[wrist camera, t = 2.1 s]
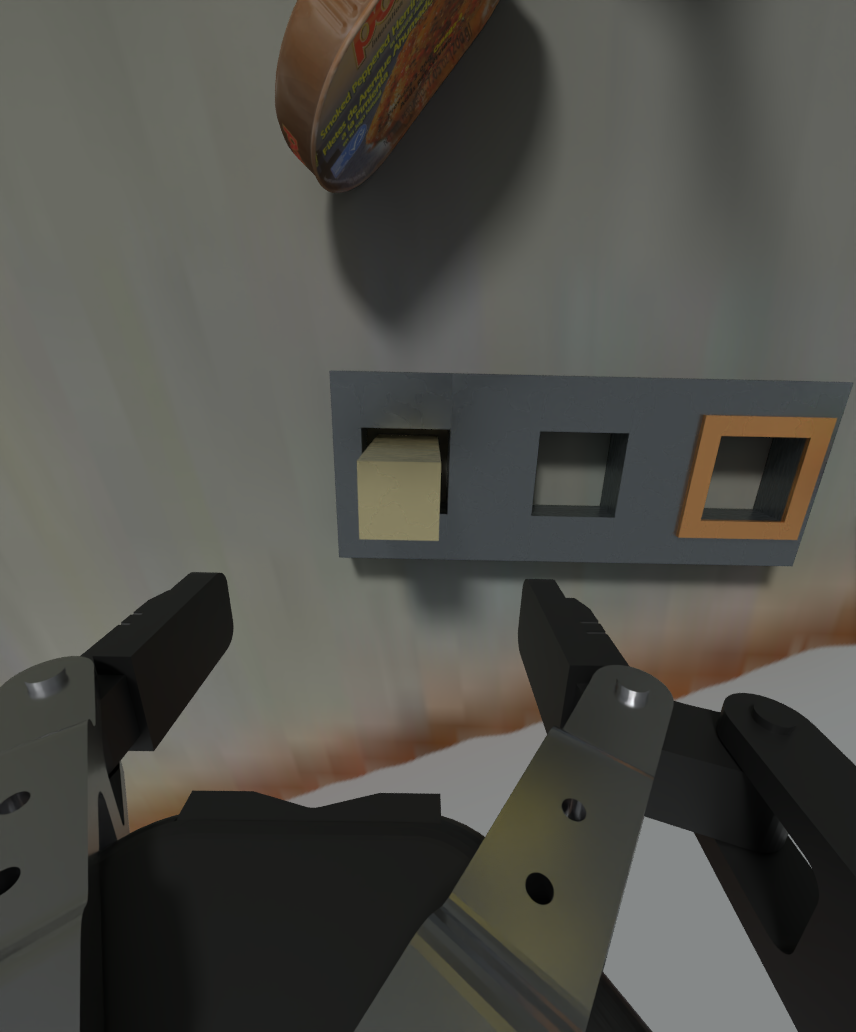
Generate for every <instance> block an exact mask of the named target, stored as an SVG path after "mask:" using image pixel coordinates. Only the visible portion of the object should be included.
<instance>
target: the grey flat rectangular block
mask: <svg viewBox="0 0 856 1032" xmlns="http://www.w3.org/2000/svg"><path fill="white" fill-rule="evenodd" d="M852 385H853V383H852V382H812V381H768V380H723V379H679V378H634V377H590V376H546V375H501V374H457V373H412V372H368V371H330V389H331V408H332V427H333V447H334V466H335V486H336V505H337V524H338V544H339V557H345V558H396V559H447V560H499V561H550V562H601V563H653V564H704V565H755V566H793V563H794V560H795V557H796V554H797V551H798V548H799V545H800V542H801V539H802V536H803V533H804V530H805V527H806V524H807V521H808V518H809V515H810V512H811V509H812V506H813V503H814V500H815V497H816V494H817V491H818V488H819V485H820V482H821V479H822V476H823V473H824V470H825V467H826V464H827V461H828V458H829V454H830V451H831V448H832V445H833V442H834V439H835V436H836V433H837V430H838V427H839V424H840V421H841V418H842V415H843V412H844V409H845V406H846V403H847V400H848V397H849V394H850V391H851V388H852ZM367 428H408V429H449V434H448V461H447V488H446V503H440V515H439V541H419V540H370V539H359V514H358V484H357V460H358V459H359V457H360V456H361V455H362V454H363V452H364V451H365V450H366V449H367ZM540 431H547V432H594V433H612V434H611V441H610V447H609V453H608V459H607V465H606V472H605V478H604V484H603V490H602V496H601V503H600V506H567V505H532V503H533V494H534V485H535V475H536V466H537V457H538V447H539V438H540ZM721 436H750V437H774V438H773V441H772V445H771V448H770V452H769V455H768V459H767V462H766V466H765V469H764V473H763V476H762V480H761V483H760V487H759V490H758V494H757V497H756V501H755V504H754V508H753V509H714V508H704V505H705V501H706V497H707V493H708V489H709V485H710V481H711V477H712V472H713V468H714V464H715V460H716V456H717V452H718V448H719V444H720V440H721Z"/></svg>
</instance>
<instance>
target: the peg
mask: <svg viewBox="0 0 856 1032" xmlns="http://www.w3.org/2000/svg"><path fill="white" fill-rule="evenodd" d="M357 484H358V514H359V539H370V540H419V541H439V515H440V484H441V458H440V451H439V444H438V437H437V436H435V435H389V434H378V435H377V436H376V438H375V439H374V440H373V441H372V443H371V444H370V445H369V446H368V448H367V449H366V450H365V451H364V452H363V454H362V455H361V456H360V457H359V459H358V460H357Z"/></svg>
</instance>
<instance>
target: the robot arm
mask: <svg viewBox="0 0 856 1032" xmlns="http://www.w3.org/2000/svg"><path fill="white" fill-rule="evenodd" d="M232 636H233V619H232V612H231V605H230V598H229V592H228V585H227V580H226V577H225V575H224V574H223V573H206V572H192V573H190V574H188V575H187V576H186V577H185V578H183V579H182V580H181V581H180V582H179V583H178V584H176V585H175V586H174V587H173V588H172V589H171V590H168V591H166V592H164V593H162V594H160V595H158V596H156V597H154V598H152V599H150V600H148V601H147V602H146V603H144V604H143V605H142V606H141V607H139V608H138V609H137V610H136V611H135V612H134V614H133V615H130V616H128V617H127V618H126V619H125V620H124V621H122V622H121V625H118V626H116V627H115V628H114V629H113V630H111V631H110V632H109V633H108V634H107V635H105V636H104V637H103V638H102V639H100V640H99V641H98V642H97V643H96V644H94V645H93V646H92V647H91V648H89V649H88V650H87V651H86V652H85V653H83V654H82V655H81V656H69V657H62V658H57V659H53V660H49V661H46V662H43V663H40V664H37V665H35V666H32V667H30V668H28V669H26V670H24V671H22V672H20V673H18V674H17V675H15V676H14V677H12V678H11V679H9V680H8V681H7V682H5V683H4V684H3V685H2V686H1V687H0V1032H652V1031H651V1029H650V1028H649V1027H648V1026H647V1025H646V1024H645V1022H644V1021H643V1020H642V1019H641V1017H640V1016H639V1015H638V1014H637V1013H636V1011H635V1010H634V1009H633V1008H632V1006H631V1005H630V1004H629V1003H628V1002H627V1000H626V999H625V998H624V997H623V996H622V994H621V993H620V992H619V991H618V989H617V988H616V987H615V986H614V985H613V984H612V982H611V981H610V980H609V979H608V977H607V976H606V975H605V974H604V973H603V969H604V965H605V961H606V958H607V954H608V950H609V947H610V943H611V939H612V935H613V932H614V928H615V924H616V920H617V916H618V913H619V909H620V905H621V902H622V898H623V894H624V890H625V887H626V883H627V879H628V875H629V872H630V868H631V864H632V861H633V857H634V853H635V849H636V845H637V842H638V838H639V834H640V830H641V827H642V823H643V819H644V816H645V817H649V818H651V819H655V820H658V821H661V822H664V823H667V824H670V825H673V826H676V827H680V828H683V829H686V830H689V831H692V832H694V834H695V836H696V837H697V839H698V841H699V843H700V845H701V847H702V849H703V851H704V853H705V855H706V857H707V858H708V860H709V862H710V864H711V866H712V868H713V870H714V872H715V874H716V876H717V878H718V880H719V881H720V883H721V885H722V887H723V889H724V891H725V893H726V895H727V897H728V898H729V901H730V902H731V904H732V906H733V908H734V910H735V912H736V914H737V916H738V918H739V920H740V921H741V923H742V925H743V927H744V929H745V931H746V933H747V935H748V937H749V939H750V941H751V943H752V945H753V946H754V948H755V950H756V952H757V954H758V956H759V958H760V959H761V962H762V964H763V966H764V967H765V969H766V971H767V973H768V975H769V977H770V979H771V981H772V983H773V985H774V987H775V989H776V990H777V992H778V994H779V996H780V998H781V1000H782V1002H783V1004H784V1006H785V1008H786V1010H787V1011H788V1013H789V1015H790V1017H791V1019H792V1021H793V1023H794V1025H795V1027H796V1029H797V1031H798V1032H856V766H855V765H854V764H853V763H852V762H851V761H850V760H849V759H848V758H847V757H846V756H845V755H844V754H843V753H842V752H841V751H840V750H839V749H838V748H837V747H836V746H835V745H834V744H833V743H832V742H831V741H830V740H829V739H828V738H827V737H826V736H825V735H824V734H823V733H822V732H820V730H819V729H818V728H816V726H814V725H813V724H812V723H811V722H810V721H809V720H808V719H807V718H805V717H804V716H802V715H801V714H800V713H798V712H797V711H795V710H793V709H792V708H789V707H788V706H786V705H784V704H782V703H779V702H777V701H775V700H772V699H769V698H767V697H763V696H760V695H755V694H748V693H737V694H732V695H730V696H728V697H727V698H726V699H725V701H724V703H723V707H722V710H721V712H716V711H712V710H708V709H704V708H699V707H695V706H691V705H686V704H683V703H680V702H676V701H674V700H673V697H672V695H671V693H670V691H669V690H668V688H667V687H666V686H665V685H664V684H663V683H662V682H660V681H659V680H658V679H656V678H655V677H653V676H652V675H650V674H648V673H646V672H644V671H642V670H639V669H636V668H633V667H630V666H629V665H628V663H627V662H626V661H625V659H624V658H623V656H622V655H621V653H620V652H619V650H618V649H617V648H616V646H615V645H614V643H613V642H612V640H611V639H610V637H609V636H608V635H607V634H605V630H604V629H603V627H602V626H601V624H598V620H597V619H596V617H595V616H594V614H593V613H592V611H591V610H590V609H589V608H588V607H586V606H585V605H584V604H582V603H581V602H579V601H578V600H577V599H575V598H565V596H564V594H563V593H562V591H561V590H560V588H559V586H558V585H557V583H556V582H555V580H553V579H525V581H524V584H523V589H522V599H521V608H520V617H519V627H518V644H519V651H520V655H521V658H522V661H523V664H524V667H525V670H526V673H527V676H528V679H529V682H530V685H531V688H532V691H533V694H534V697H535V700H536V703H537V706H538V709H539V712H540V715H541V718H542V721H543V723H544V726H545V730H546V733H547V736H546V737H545V739H544V741H543V742H542V744H541V746H540V748H539V749H538V751H537V752H536V754H535V756H534V757H533V759H532V760H531V762H530V764H529V766H528V767H527V769H526V771H525V772H524V774H523V775H522V777H521V779H520V780H519V782H518V784H517V785H516V787H515V789H514V790H513V792H512V794H511V795H510V797H509V799H508V800H507V802H506V804H505V805H504V807H503V808H502V810H501V812H500V813H499V815H498V817H497V818H496V820H495V822H494V824H493V825H492V827H491V828H490V830H489V832H488V833H487V835H486V837H484V836H483V835H481V834H480V833H479V832H477V831H475V830H473V829H472V828H470V827H468V826H467V825H464V824H462V823H460V822H458V821H455V820H453V819H449V818H447V817H443V816H441V805H440V794H413V793H410V794H409V793H378V794H374V795H369V796H365V797H361V798H356V799H353V800H348V801H344V802H340V803H335V804H331V805H327V806H323V807H318V808H308V807H305V806H301V805H298V804H294V803H291V802H288V801H284V800H281V799H278V798H274V797H271V796H267V795H264V794H261V793H257V792H254V791H192V793H191V794H190V796H189V798H188V800H187V802H186V803H185V805H184V807H183V809H182V810H181V812H180V814H179V815H175V816H171V817H168V818H165V819H162V820H159V821H156V822H154V823H152V824H149V825H147V826H145V827H142V828H140V829H138V830H136V831H134V832H132V833H130V831H129V820H128V810H127V799H126V788H125V778H124V770H123V766H122V763H121V759H122V758H123V757H124V755H125V754H126V753H127V752H128V751H154V750H155V749H156V748H157V746H158V745H159V743H160V742H161V741H162V739H163V738H164V736H165V735H166V734H167V732H168V731H169V729H170V728H171V727H172V725H173V724H174V722H175V721H176V720H177V718H178V717H179V716H180V714H181V713H182V711H183V710H184V709H185V707H186V706H187V704H188V703H189V702H190V700H191V699H192V697H193V696H194V695H195V693H196V692H197V690H198V689H199V688H200V686H201V685H202V683H203V682H204V681H205V679H206V678H207V677H208V675H209V674H210V672H211V671H212V670H213V668H214V667H215V665H216V664H217V663H218V661H219V660H220V658H221V657H222V656H223V654H224V653H225V651H226V650H227V649H228V647H229V645H230V643H231V640H232ZM788 834H789V835H790V836H791V837H792V839H793V840H794V842H795V843H796V844H797V845H798V847H799V848H800V850H801V851H802V853H803V854H804V855H805V857H806V858H807V860H808V862H809V863H810V865H811V867H812V868H811V867H810V865H809V864H808V863H807V861H806V860H805V859H804V857H803V856H802V854H801V853H800V852H799V850H798V849H797V847H796V846H795V845H794V843H793V842H792V840H791V839H790V838H789V836H788ZM812 869H813V870H812Z"/></svg>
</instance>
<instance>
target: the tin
mask: <svg viewBox="0 0 856 1032" xmlns="http://www.w3.org/2000/svg"><path fill="white" fill-rule="evenodd" d="M498 2H499V0H297V2H296V5H295V7H294V9H293V11H292V14H291V16H290V19H289V22H288V25H287V27H286V31H285V34H284V37H283V41H282V44H281V49H280V54H279V59H278V65H277V71H276V83H275V108H276V113H277V118H278V122H279V125H280V128H281V131H282V133H283V136H284V138H285V141H286V143H287V144H288V146H289V148H290V149H291V151H292V152H293V153H294V154H295V155H296V157H297V158H298V159H299V160H300V161H301V162H302V163H303V164H304V165H305V166H306V167H307V168H308V169H309V170H310V171H311V172H312V173H313V174H314V175H315V176H316V178H317V180H318V182H319V183H320V185H321V186H322V187H323V188H324V189H325V190H327V191H329V192H332V193H341V192H346V191H349V190H351V189H353V188H355V187H357V186H359V185H360V184H362V183H363V182H364V181H365V180H367V179H368V178H369V177H370V176H371V175H372V174H373V173H374V172H375V171H376V170H377V169H378V168H379V166H380V165H381V164H382V163H383V162H384V161H385V160H386V158H387V157H388V156H389V154H390V153H391V152H392V150H393V149H394V148H395V146H396V145H397V144H398V142H399V141H400V140H401V138H402V137H403V136H404V134H405V133H406V131H407V130H408V129H409V127H410V126H411V124H412V123H413V122H414V121H415V119H416V118H417V117H418V115H419V114H420V112H421V111H422V110H423V108H424V107H425V106H426V104H427V103H428V102H429V100H430V99H431V97H432V96H433V95H434V93H435V92H436V91H437V89H438V88H439V86H440V85H441V84H442V82H443V81H444V80H445V79H446V77H447V76H448V75H449V73H450V72H451V71H452V69H453V68H454V67H455V65H456V64H457V62H458V61H459V60H460V58H461V57H462V56H463V54H464V53H465V52H466V50H467V49H468V48H469V46H470V45H471V44H472V42H473V41H474V39H475V38H476V37H477V35H478V34H479V33H480V31H481V30H482V28H483V27H484V25H485V24H486V22H487V21H488V19H489V18H490V16H491V15H492V13H493V11H494V9H495V7H496V6H497V4H498Z"/></svg>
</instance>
